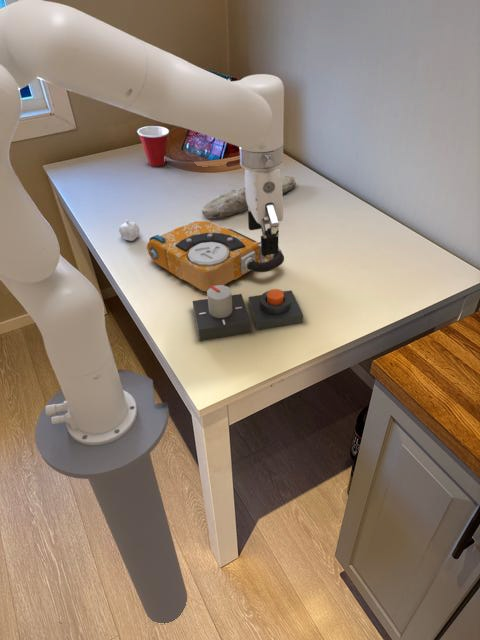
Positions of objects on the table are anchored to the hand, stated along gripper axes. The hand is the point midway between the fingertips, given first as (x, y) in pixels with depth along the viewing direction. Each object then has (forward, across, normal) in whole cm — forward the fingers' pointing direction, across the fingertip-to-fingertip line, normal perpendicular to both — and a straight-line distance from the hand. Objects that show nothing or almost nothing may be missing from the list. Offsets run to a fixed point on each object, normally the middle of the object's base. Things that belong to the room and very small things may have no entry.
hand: (262, 240), depth 95 cm
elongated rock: (+19, +54, -11) cm, 58 cm away
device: (+19, +22, +6) cm, 29 cm away
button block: (+19, 0, -2) cm, 19 cm away
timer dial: (+16, 0, +10) cm, 18 cm away
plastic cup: (+19, +93, +14) cm, 96 cm away
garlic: (+19, +42, +27) cm, 53 cm away
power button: (+15, 0, -2) cm, 15 cm away
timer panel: (+19, 0, +10) cm, 21 cm away
